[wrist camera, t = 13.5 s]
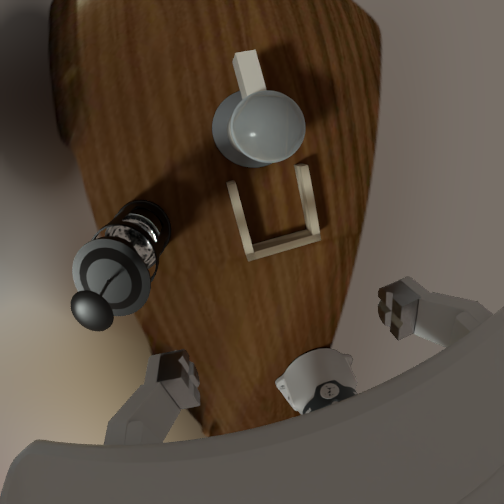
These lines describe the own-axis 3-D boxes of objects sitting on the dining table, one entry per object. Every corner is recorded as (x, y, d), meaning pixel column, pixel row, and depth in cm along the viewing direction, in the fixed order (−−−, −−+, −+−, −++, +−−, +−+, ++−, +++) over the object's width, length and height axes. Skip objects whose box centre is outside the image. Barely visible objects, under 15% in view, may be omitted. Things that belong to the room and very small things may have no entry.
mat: (300, 157, 40) (301, 157, 40) (223, 176, 40) (224, 176, 39) (282, 83, 36) (283, 82, 35) (203, 100, 35) (203, 99, 34)
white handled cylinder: (288, 150, 39) (312, 154, 30) (233, 164, 39) (241, 170, 30) (266, 62, 33) (283, 41, 24) (209, 74, 33) (210, 53, 24)
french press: (168, 193, 40) (128, 252, 19) (180, 250, 43) (163, 350, 22) (99, 208, 38) (18, 275, 17) (114, 262, 42) (59, 357, 21)
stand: (314, 233, 46) (320, 240, 43) (245, 253, 45) (248, 261, 42) (301, 163, 41) (307, 165, 38) (225, 182, 40) (227, 185, 38)
